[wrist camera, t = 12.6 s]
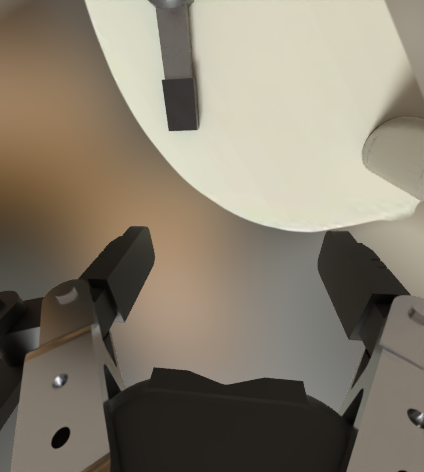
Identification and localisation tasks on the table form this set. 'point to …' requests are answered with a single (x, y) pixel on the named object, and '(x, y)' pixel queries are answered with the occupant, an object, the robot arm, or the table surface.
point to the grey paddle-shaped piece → (177, 64)
